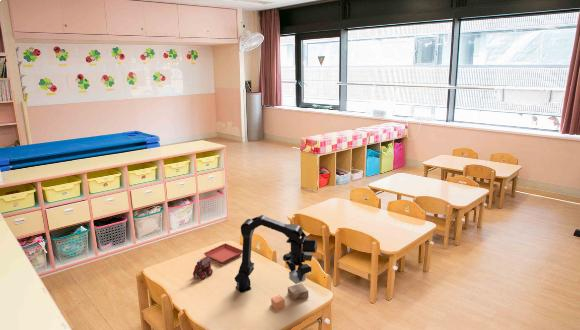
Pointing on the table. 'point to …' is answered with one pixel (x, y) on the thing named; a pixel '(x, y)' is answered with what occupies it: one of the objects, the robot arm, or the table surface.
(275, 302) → the terracotta block
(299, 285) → the walnut base
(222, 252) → the red square tray
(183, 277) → the table surface
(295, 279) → the grey block
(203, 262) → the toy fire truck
